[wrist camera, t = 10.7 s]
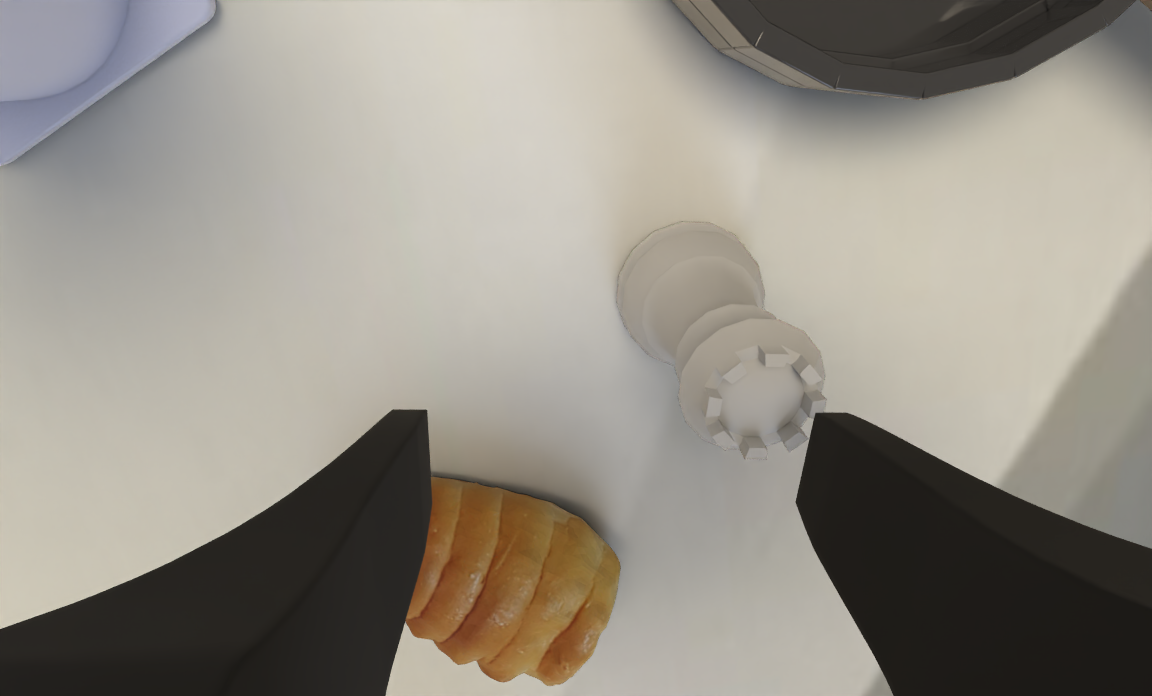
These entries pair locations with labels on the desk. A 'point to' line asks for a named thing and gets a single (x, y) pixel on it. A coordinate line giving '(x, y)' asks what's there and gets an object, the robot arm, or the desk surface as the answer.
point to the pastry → (511, 583)
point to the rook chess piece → (720, 338)
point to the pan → (897, 40)
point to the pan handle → (1147, 3)
